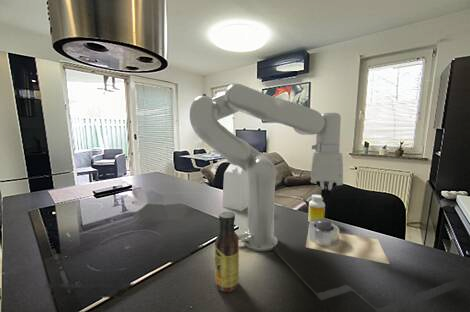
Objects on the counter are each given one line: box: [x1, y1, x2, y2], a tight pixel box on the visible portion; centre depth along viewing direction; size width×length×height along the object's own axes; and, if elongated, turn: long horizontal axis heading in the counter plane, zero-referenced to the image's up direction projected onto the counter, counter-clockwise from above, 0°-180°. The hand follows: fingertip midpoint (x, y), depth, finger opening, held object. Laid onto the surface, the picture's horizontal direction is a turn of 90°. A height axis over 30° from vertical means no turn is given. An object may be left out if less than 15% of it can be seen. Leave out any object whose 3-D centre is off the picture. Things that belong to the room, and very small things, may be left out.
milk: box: [222, 162, 248, 212], centre depth 116 cm, size 12×12×26 cm
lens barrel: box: [307, 221, 340, 247], centre depth 77 cm, size 10×10×5 cm
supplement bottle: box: [307, 194, 326, 223], centre depth 92 cm, size 7×7×13 cm
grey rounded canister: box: [316, 218, 332, 231], centre depth 77 cm, size 5×5×6 cm
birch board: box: [305, 229, 390, 265], centre depth 75 cm, size 24×16×1 cm, turn 67°
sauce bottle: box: [214, 211, 240, 293], centre depth 55 cm, size 6×6×20 cm
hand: (325, 199), depth 76 cm, fingers closed
